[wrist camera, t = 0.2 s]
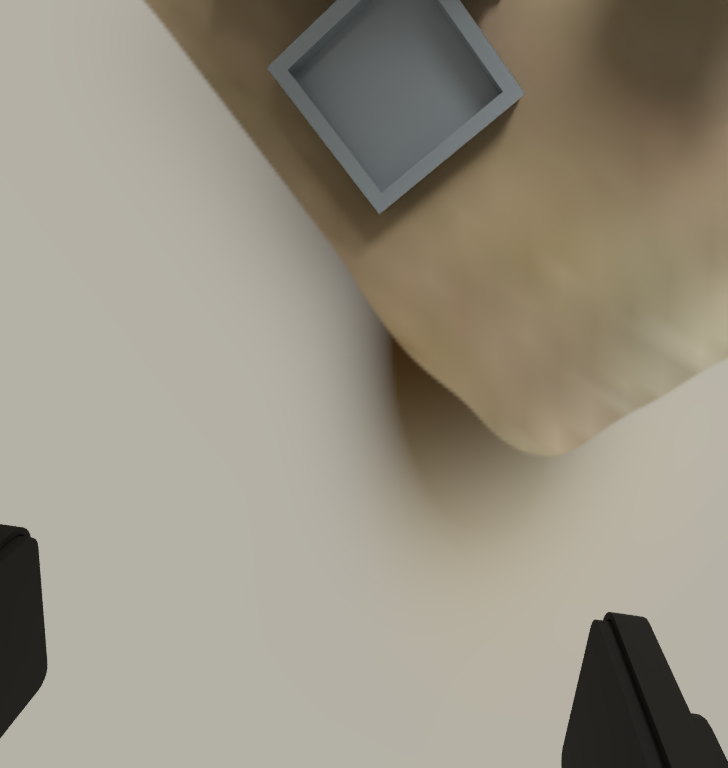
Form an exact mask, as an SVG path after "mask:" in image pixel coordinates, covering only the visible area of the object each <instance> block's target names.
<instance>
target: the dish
mask: <svg viewBox="0 0 728 768" xmlns="http://www.w3.org/2000/svg"><path fill="white" fill-rule="evenodd" d="M267 69H268V70H269V72H270V73H271V74H272V75H273V77H274V78H275V79H276V81H277V82H278V83H279V85H280V86H281V87H282V88H283V90H284V91H285V92H286V94H287V95H288V96H289V98H290V99H291V100H292V101H293V103H294V104H295V105H296V107H297V108H298V109H299V111H300V112H301V113H302V114H303V116H304V117H305V118H306V120H307V121H308V122H309V124H310V125H311V126H312V127H313V129H314V130H315V131H316V133H317V134H318V135H319V137H320V138H321V139H322V141H323V142H324V143H325V144H326V146H327V147H328V148H329V150H330V151H331V152H332V154H333V155H334V156H335V157H336V159H337V160H338V161H339V163H340V164H341V165H342V167H343V168H344V169H345V170H346V172H347V173H348V174H349V176H350V177H351V178H352V180H353V181H354V182H355V183H356V185H357V186H358V187H359V189H360V190H361V191H362V193H363V194H364V195H365V196H366V198H367V199H368V200H369V202H370V203H371V204H372V206H373V207H374V208H375V209H376V211H377V212H378V213H379V214H380V213H382V212H384V211H385V210H386V209H387V208H388V207H390V206H391V205H392V204H393V203H395V202H396V201H397V200H398V199H399V198H401V197H402V196H403V195H404V194H405V193H407V192H408V191H409V190H410V189H412V188H413V187H414V186H415V185H416V184H418V183H419V182H420V181H421V180H422V179H424V178H425V177H426V176H427V175H429V174H430V173H431V172H432V171H433V170H435V169H436V168H437V167H438V166H439V165H441V164H442V163H443V162H444V161H446V160H447V159H448V158H449V157H450V156H452V155H453V154H454V153H455V152H456V151H458V150H459V149H460V148H461V147H462V146H464V145H465V144H466V143H467V142H469V141H470V140H471V139H472V138H473V137H475V136H476V135H477V134H478V133H479V132H481V131H482V130H483V129H484V128H486V127H487V126H488V125H489V124H490V123H492V122H493V121H494V120H495V119H496V118H498V117H499V116H500V115H501V114H503V113H504V112H505V111H506V110H507V109H509V108H510V107H511V106H512V105H513V104H515V103H516V102H517V101H518V100H520V99H521V98H522V97H523V96H524V94H525V93H524V91H523V90H522V89H521V87H520V86H519V84H518V83H517V81H516V80H515V78H514V77H513V76H512V74H511V73H510V71H509V70H508V68H507V67H506V66H505V64H504V63H503V61H502V60H501V58H500V57H499V56H498V54H497V53H496V51H495V50H494V48H493V47H492V45H491V44H490V43H489V41H488V40H487V38H486V37H485V35H484V34H483V33H482V31H481V30H480V28H479V27H478V25H477V24H476V22H475V21H474V20H473V18H472V17H471V15H470V14H469V12H468V11H467V10H466V8H465V7H464V5H463V4H462V2H461V1H460V0H336V1H335V2H334V3H333V4H332V5H331V6H330V7H329V8H328V9H327V10H326V11H325V12H324V13H323V14H322V15H321V16H320V17H319V18H318V19H317V20H316V21H315V22H314V23H313V24H311V25H310V26H309V27H308V28H307V29H306V30H305V31H304V32H303V33H302V34H301V35H300V36H299V37H298V38H297V39H296V40H295V41H294V42H293V43H292V44H291V45H290V46H289V47H288V48H287V49H286V50H284V51H283V52H282V53H281V54H280V55H279V56H278V57H277V58H276V59H275V60H274V61H273V62H272V63H271V64H270V65H269V66H268V67H267Z"/></svg>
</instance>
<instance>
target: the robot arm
mask: <svg viewBox="0 0 728 768" xmlns="http://www.w3.org/2000/svg"><path fill="white" fill-rule="evenodd" d="M46 672H47V654H46V641H45V628H44V615H43V602H42V589H41V576H40V563H39V550H38V543H37V541H36V539H34V538H31V537H30V533H29V532H28V530H27V529H25V528H23V527H16V526H9V525H2V524H0V738H1V737H2V735H3V734H4V733H5V731H6V730H7V729H8V727H9V726H10V725H11V724H12V723H13V721H14V720H15V718H17V716H18V715H19V714H20V713H21V711H22V710H23V709H24V708H25V706H26V705H27V704H28V702H29V701H30V700H31V699H32V697H33V696H34V695H35V694H36V692H37V691H38V690H39V688H40V687H41V685H42V683H43V681H44V679H45V676H46ZM562 768H728V761H727V759H726V757H725V755H724V753H723V751H722V749H721V747H720V745H719V743H718V741H717V738H716V736H715V734H714V732H713V730H712V728H711V727H710V725H709V724H708V722H707V720H706V719H705V718H703V717H702V716H701V715H698V714H691V713H690V711H689V708H688V706H687V704H686V702H685V700H684V698H683V695H682V693H681V691H680V689H679V687H678V685H677V682H676V680H675V678H674V676H673V674H672V671H671V669H670V667H669V665H668V663H667V661H666V658H665V656H664V654H663V652H662V650H661V647H660V645H659V643H658V641H657V639H656V637H655V635H654V632H653V630H652V628H651V626H650V624H649V622H648V620H647V619H646V618H644V617H640V616H633V615H626V614H619V613H612V612H608V613H607V614H606V615H605V617H604V620H603V621H602V620H594V621H593V622H592V625H591V628H590V632H589V637H588V641H587V646H586V650H585V654H584V658H583V663H582V667H581V671H580V675H579V680H578V684H577V688H576V693H575V697H574V702H573V706H572V710H571V714H570V719H569V723H568V728H567V732H566V736H565V741H564V745H563V750H562Z"/></svg>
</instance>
